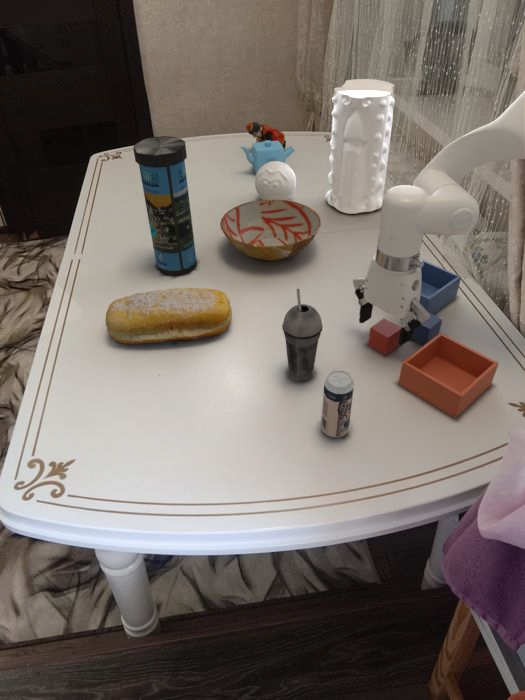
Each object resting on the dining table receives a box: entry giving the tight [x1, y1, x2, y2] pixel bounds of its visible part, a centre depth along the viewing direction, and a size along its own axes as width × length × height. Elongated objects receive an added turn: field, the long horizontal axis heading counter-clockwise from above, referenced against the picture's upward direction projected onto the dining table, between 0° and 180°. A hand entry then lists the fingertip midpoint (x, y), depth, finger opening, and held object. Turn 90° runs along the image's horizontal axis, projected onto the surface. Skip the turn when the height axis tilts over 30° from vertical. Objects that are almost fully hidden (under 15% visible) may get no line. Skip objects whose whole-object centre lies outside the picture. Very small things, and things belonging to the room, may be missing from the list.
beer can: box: [320, 370, 355, 438], centre depth 91 cm, size 5×5×12 cm
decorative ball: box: [254, 161, 297, 201], centre depth 158 cm, size 12×12×12 cm
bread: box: [105, 287, 233, 345], centre depth 114 cm, size 13×26×8 cm, turn 98°
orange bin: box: [397, 332, 500, 419], centre depth 100 cm, size 12×12×6 cm
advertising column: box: [132, 135, 198, 277], centre depth 126 cm, size 11×11×30 cm
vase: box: [325, 78, 396, 215], centre depth 150 cm, size 17×16×32 cm
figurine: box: [245, 121, 287, 149], centre depth 190 cm, size 10×10×15 cm
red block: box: [367, 318, 403, 356], centre depth 110 cm, size 4×4×4 cm
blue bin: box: [413, 258, 462, 316], centre depth 122 cm, size 12×12×6 cm
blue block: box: [411, 312, 443, 346], centre depth 111 cm, size 4×4×4 cm
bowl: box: [219, 199, 322, 261], centre depth 138 cm, size 25×25×8 cm
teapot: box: [239, 140, 295, 175], centre depth 175 cm, size 18×14×10 cm
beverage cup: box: [282, 288, 324, 382], centre depth 99 cm, size 7×7×20 cm
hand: (384, 330), depth 109 cm, fingers open, 9 cm apart
